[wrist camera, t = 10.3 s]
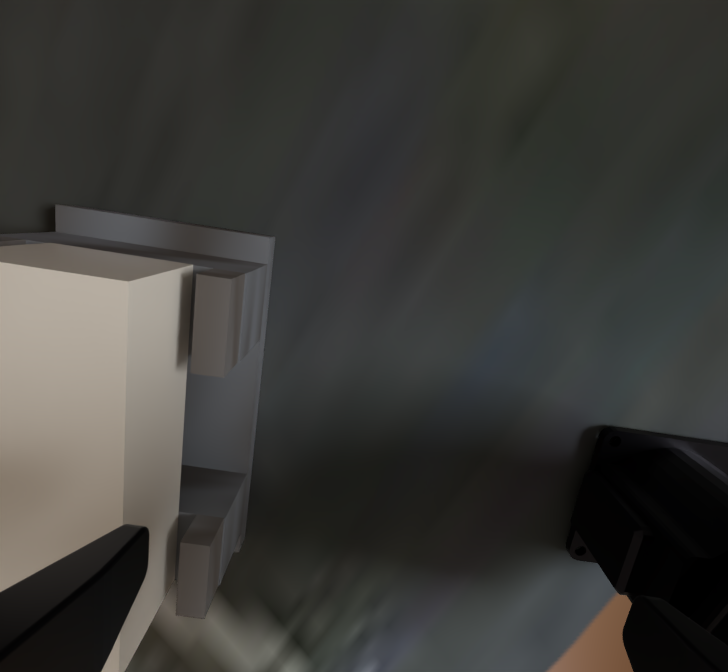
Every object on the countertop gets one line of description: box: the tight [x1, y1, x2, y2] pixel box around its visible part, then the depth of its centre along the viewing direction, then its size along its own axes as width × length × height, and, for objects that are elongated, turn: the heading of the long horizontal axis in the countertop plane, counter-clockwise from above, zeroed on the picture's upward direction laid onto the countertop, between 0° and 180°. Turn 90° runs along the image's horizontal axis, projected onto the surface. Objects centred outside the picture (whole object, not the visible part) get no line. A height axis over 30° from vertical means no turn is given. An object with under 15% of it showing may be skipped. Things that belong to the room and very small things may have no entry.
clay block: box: [0, 243, 193, 672], centre depth 14 cm, size 4×12×4 cm, turn 171°
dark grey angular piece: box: [0, 204, 275, 619], centre depth 17 cm, size 8×14×6 cm, turn 171°
